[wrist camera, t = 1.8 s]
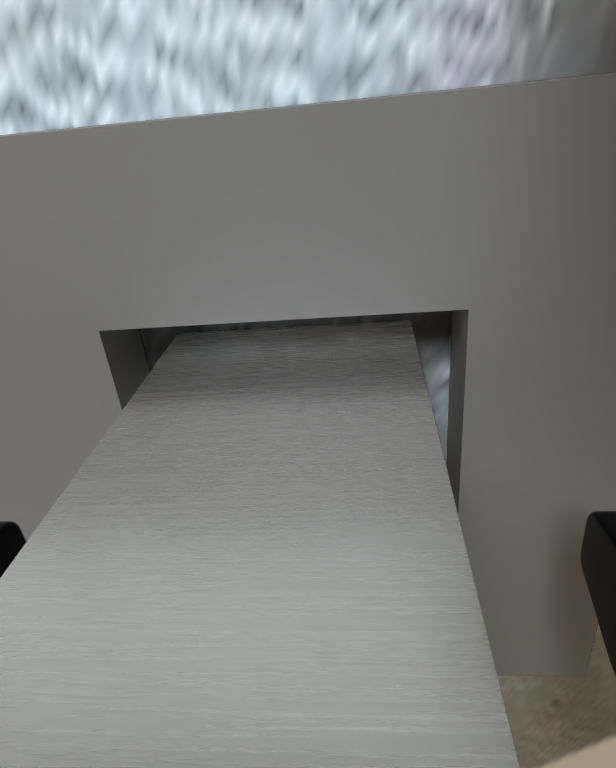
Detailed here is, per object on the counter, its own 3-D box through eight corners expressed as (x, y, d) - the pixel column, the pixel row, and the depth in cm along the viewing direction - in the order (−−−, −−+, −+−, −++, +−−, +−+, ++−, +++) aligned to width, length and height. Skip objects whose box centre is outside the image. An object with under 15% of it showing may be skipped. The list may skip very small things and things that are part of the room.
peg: (410, 319, 10) (536, 841, 3) (410, 505, 12) (486, 1063, 5) (178, 333, 11) (-167, 808, 4) (217, 509, 13) (48, 1025, 6)
